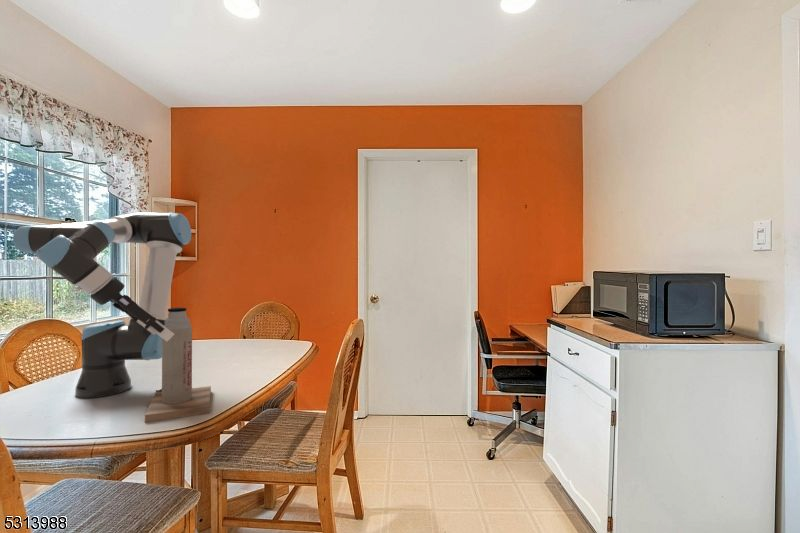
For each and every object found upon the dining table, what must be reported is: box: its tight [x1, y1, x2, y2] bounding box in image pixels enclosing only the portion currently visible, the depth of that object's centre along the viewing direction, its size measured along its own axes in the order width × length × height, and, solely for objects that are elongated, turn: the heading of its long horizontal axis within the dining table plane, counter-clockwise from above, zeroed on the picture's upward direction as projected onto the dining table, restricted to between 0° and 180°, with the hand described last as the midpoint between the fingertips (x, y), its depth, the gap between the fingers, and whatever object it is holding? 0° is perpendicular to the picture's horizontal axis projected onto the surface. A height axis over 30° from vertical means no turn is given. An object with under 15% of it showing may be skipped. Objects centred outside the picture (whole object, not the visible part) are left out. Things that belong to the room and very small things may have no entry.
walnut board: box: [144, 385, 212, 423], centre depth 120 cm, size 20×16×2 cm
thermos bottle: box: [161, 307, 193, 404], centre depth 119 cm, size 8×8×28 cm
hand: (163, 334), depth 116 cm, fingers open, 13 cm apart
